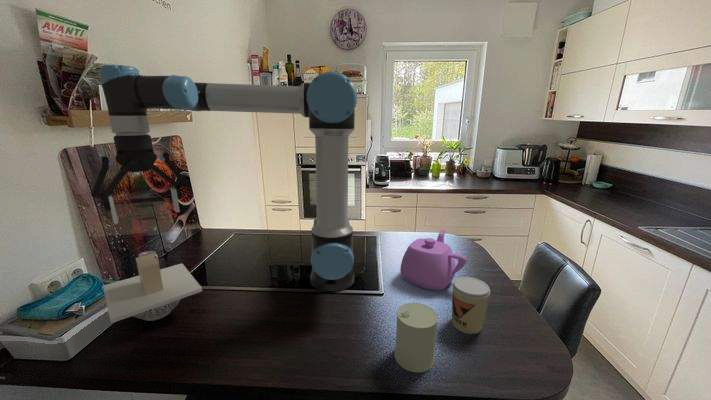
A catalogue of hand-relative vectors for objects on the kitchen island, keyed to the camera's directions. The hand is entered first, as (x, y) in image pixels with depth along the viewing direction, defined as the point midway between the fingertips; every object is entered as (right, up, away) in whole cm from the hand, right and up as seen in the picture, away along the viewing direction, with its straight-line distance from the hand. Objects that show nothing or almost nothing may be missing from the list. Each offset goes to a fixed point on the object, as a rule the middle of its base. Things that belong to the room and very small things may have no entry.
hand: (148, 216), depth 79 cm
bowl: (-2, -28, +7) cm, 29 cm away
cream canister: (+85, -30, +3) cm, 90 cm away
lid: (-2, -21, +5) cm, 21 cm away
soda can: (-12, -25, +20) cm, 34 cm away
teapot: (+80, -24, +26) cm, 87 cm away
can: (+69, -33, -9) cm, 76 cm away
